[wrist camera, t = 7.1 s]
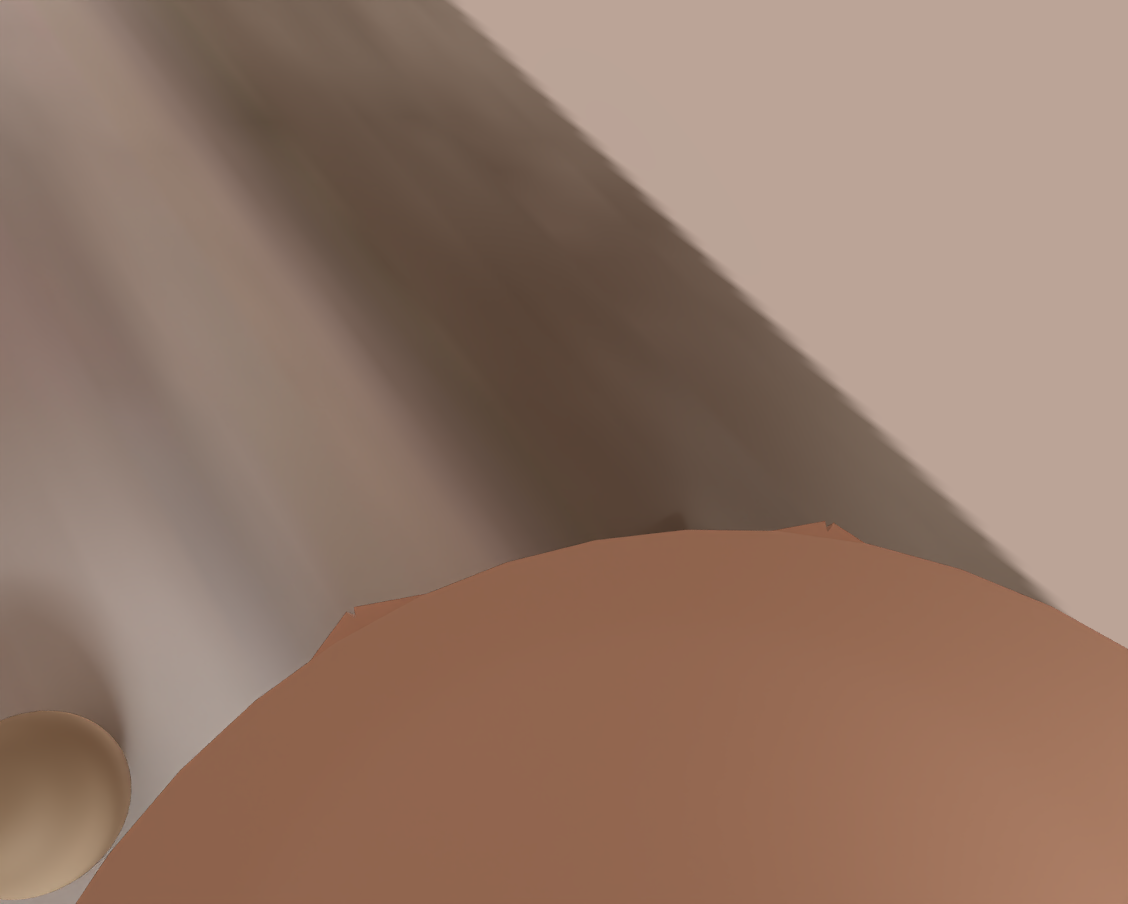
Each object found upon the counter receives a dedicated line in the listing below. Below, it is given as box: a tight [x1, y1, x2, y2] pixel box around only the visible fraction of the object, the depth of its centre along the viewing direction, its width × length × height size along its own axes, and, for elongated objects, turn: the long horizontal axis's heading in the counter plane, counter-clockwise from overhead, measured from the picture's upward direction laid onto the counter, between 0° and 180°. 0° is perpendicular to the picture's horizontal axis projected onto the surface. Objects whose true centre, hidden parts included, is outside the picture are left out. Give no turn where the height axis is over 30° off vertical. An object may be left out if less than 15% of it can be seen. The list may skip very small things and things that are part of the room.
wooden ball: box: [0, 711, 131, 900], centre depth 15 cm, size 3×3×3 cm
